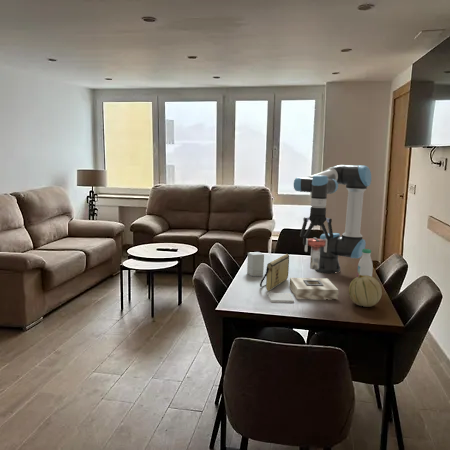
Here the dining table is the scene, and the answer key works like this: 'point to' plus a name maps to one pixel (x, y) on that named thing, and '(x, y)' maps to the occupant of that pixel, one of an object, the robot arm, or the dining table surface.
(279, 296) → the rubber mat
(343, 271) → the dining table surface
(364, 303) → the cantaloupe
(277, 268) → the clutch purse
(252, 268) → the supplement box
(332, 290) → the block
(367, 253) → the milk bottle
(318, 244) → the screw pin
